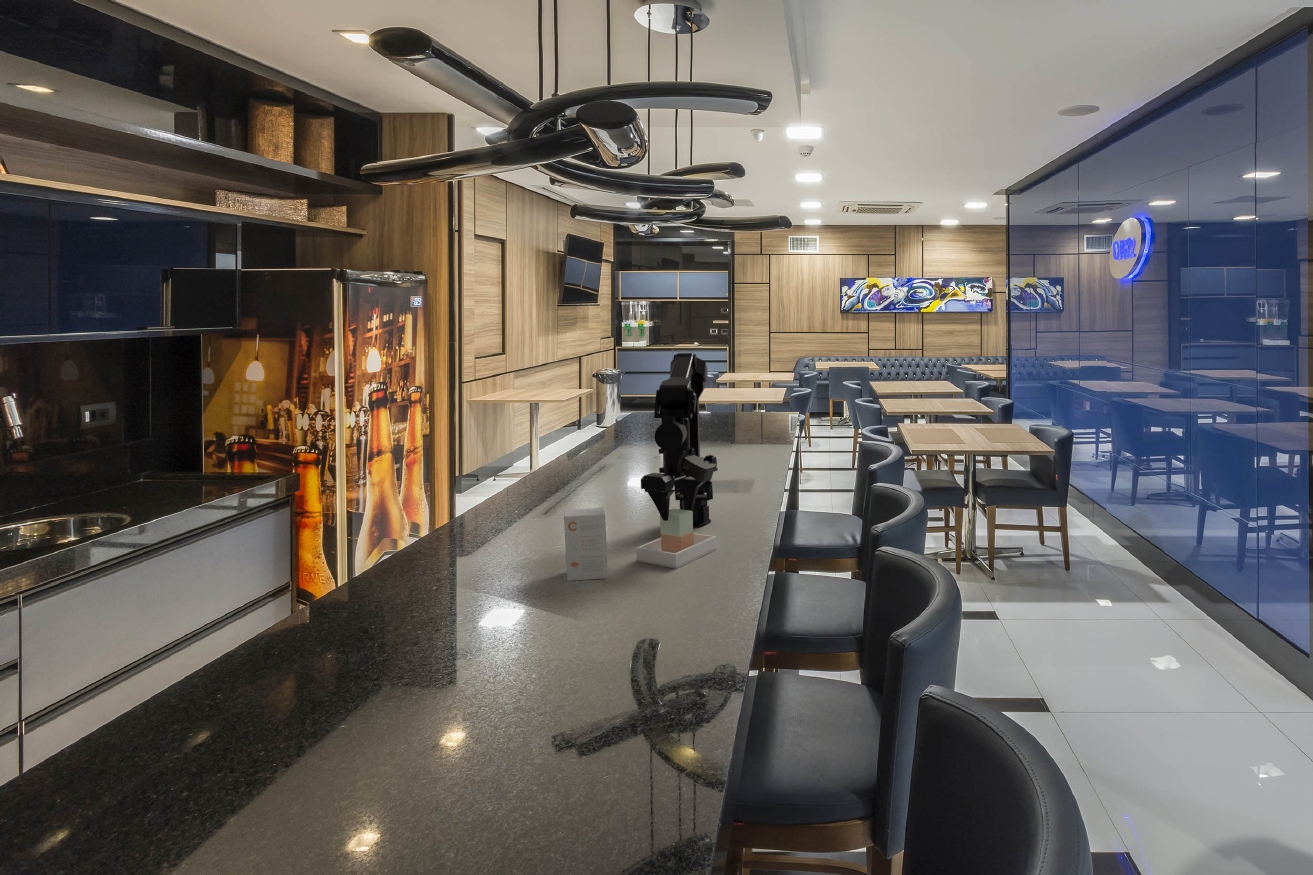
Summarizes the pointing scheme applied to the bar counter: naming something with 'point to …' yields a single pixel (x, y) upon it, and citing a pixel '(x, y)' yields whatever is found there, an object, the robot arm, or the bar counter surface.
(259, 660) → the bar counter surface
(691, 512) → the pale green block
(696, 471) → the robot arm
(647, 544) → the tote
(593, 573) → the small box
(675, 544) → the brick
